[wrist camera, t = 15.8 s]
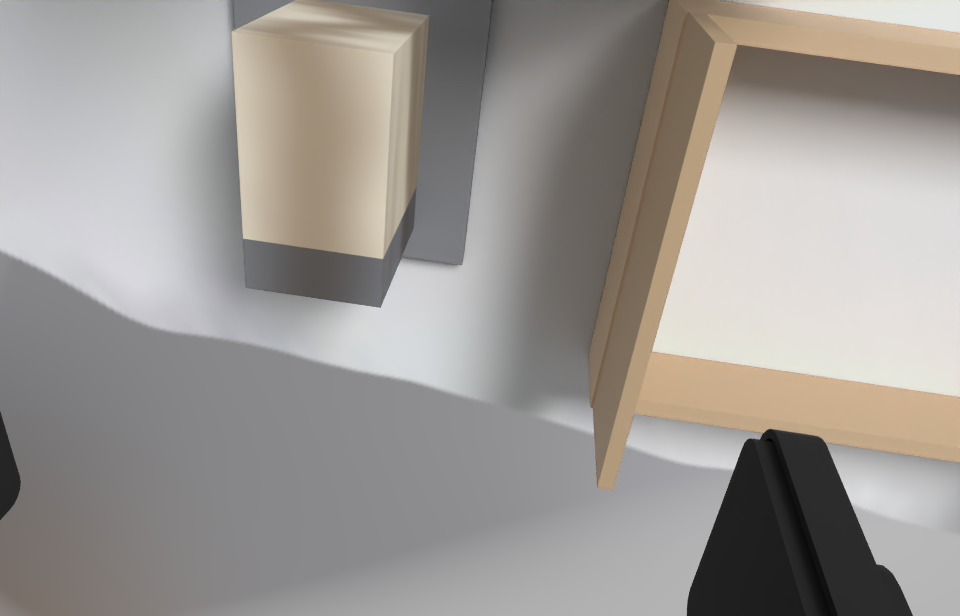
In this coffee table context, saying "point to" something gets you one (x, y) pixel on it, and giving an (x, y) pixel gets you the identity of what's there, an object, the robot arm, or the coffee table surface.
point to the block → (328, 146)
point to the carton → (660, 231)
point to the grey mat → (435, 115)
